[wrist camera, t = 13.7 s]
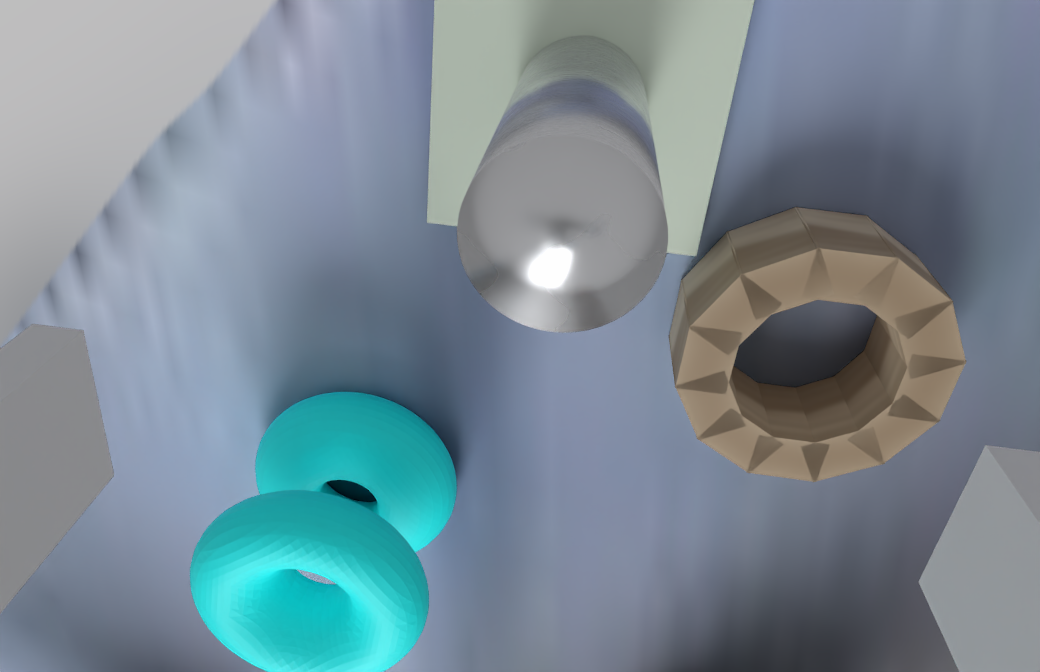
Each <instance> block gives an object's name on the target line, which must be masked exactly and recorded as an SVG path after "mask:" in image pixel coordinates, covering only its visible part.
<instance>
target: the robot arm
mask: <svg viewBox="0 0 1040 672" xmlns="http://www.w3.org/2000/svg"><path fill="white" fill-rule="evenodd" d="M113 476H114V472H113V467H112V463H111V458H110V453H109V449H108V444H107V439H106V434H105V430H104V425H103V420H102V416H101V411H100V406H99V402H98V397H97V392H96V388H95V383H94V378H93V373H92V369H91V364H90V359H89V355H88V350H87V345H86V341H85V336H84V331H83V330H77V329H69V328H61V327H54V326H46V325H38V324H32V325H30V326H29V327H28V328H26V329H25V330H24V331H23V332H21V333H20V334H19V335H17V336H16V337H15V338H14V339H12V340H11V341H10V342H8V343H7V344H6V345H5V346H3V347H2V348H1V349H0V614H1V612H2V611H3V610H4V609H5V608H6V606H7V605H8V604H9V603H10V601H11V600H12V599H13V598H14V597H15V595H16V594H17V593H18V592H19V591H20V589H21V588H22V587H23V586H24V584H25V583H26V582H27V581H28V580H29V578H30V577H31V576H32V575H33V573H34V572H35V571H36V570H37V569H38V567H39V566H40V565H41V564H42V563H43V561H44V560H45V559H46V558H47V556H48V555H49V554H50V553H51V552H52V550H53V549H54V548H55V547H56V545H57V544H58V543H59V542H60V541H61V539H62V538H63V537H64V536H65V535H66V533H67V532H68V531H69V530H70V528H71V527H72V526H73V525H74V524H75V522H76V521H77V520H78V519H79V518H80V516H81V515H82V514H83V513H84V511H85V510H86V509H87V508H88V507H89V505H90V504H91V503H92V502H93V500H94V499H95V498H96V497H97V496H98V494H99V493H100V492H101V491H102V490H103V488H104V487H105V486H106V485H107V483H108V482H109V481H110V480H111V479H112V477H113ZM919 584H920V586H921V589H922V591H923V593H924V595H925V597H926V600H927V602H928V604H929V606H930V608H931V611H932V613H933V615H934V617H935V619H936V622H937V624H938V626H939V628H940V630H941V632H942V635H943V637H944V639H945V641H946V643H947V646H948V648H949V650H950V652H951V654H952V657H953V659H954V661H955V663H956V665H957V668H958V670H959V672H1040V452H1036V451H1028V450H1020V449H1012V448H1004V447H996V446H988V445H985V447H984V449H983V451H982V454H981V456H980V458H979V460H978V462H977V464H976V466H975V468H974V470H973V472H972V474H971V476H970V478H969V480H968V482H967V484H966V486H965V488H964V490H963V492H962V494H961V496H960V498H959V500H958V502H957V504H956V506H955V509H954V511H953V513H952V515H951V517H950V519H949V521H948V523H947V525H946V527H945V529H944V531H943V533H942V535H941V537H940V539H939V541H938V543H937V545H936V547H935V549H934V551H933V553H932V555H931V557H930V559H929V561H928V563H927V566H926V568H925V570H924V572H923V574H922V576H921V578H920V580H919Z"/></svg>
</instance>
